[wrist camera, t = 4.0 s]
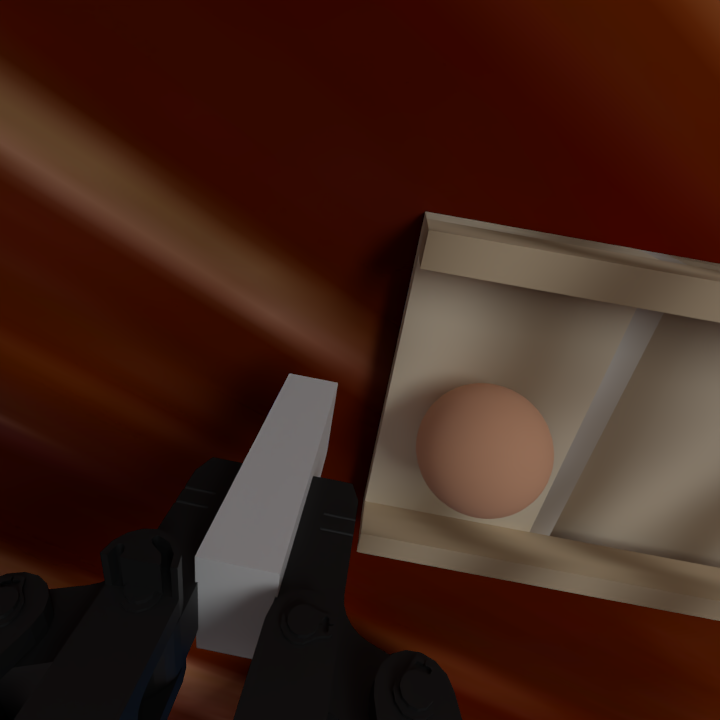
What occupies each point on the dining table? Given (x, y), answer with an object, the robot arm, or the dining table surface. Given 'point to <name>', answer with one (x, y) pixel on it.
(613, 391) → the lane
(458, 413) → the ball
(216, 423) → the dining table surface
